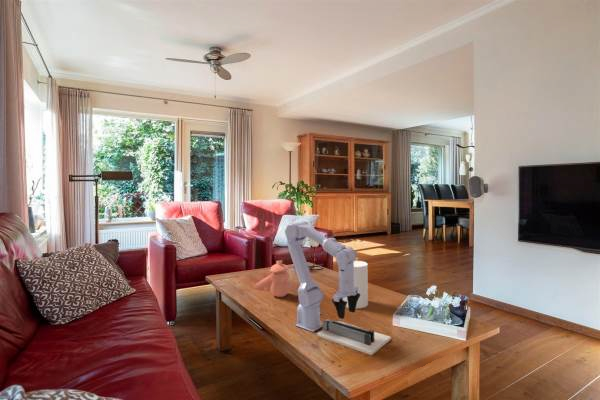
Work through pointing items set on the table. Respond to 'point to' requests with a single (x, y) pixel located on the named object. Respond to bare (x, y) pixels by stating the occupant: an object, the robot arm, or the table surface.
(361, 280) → the canister
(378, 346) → the cutting board
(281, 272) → the ceramic vessels
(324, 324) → the tongs base
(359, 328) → the tongs arm
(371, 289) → the table surface
